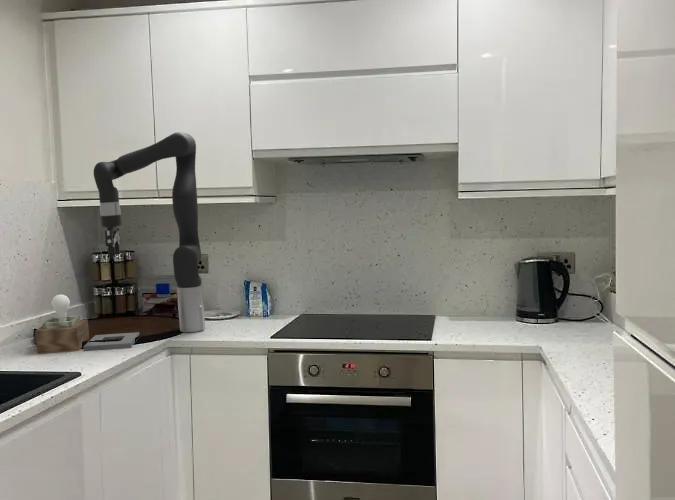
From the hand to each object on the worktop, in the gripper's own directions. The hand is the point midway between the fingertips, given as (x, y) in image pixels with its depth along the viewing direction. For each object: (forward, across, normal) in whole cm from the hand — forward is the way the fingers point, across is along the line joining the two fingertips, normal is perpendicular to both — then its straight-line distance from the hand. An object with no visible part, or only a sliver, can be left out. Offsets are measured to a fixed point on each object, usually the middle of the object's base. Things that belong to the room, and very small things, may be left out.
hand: (114, 255), depth 252 cm
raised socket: (+30, -20, +16) cm, 39 cm away
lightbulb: (+22, -20, +16) cm, 33 cm away
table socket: (+30, -20, -1) cm, 36 cm away
